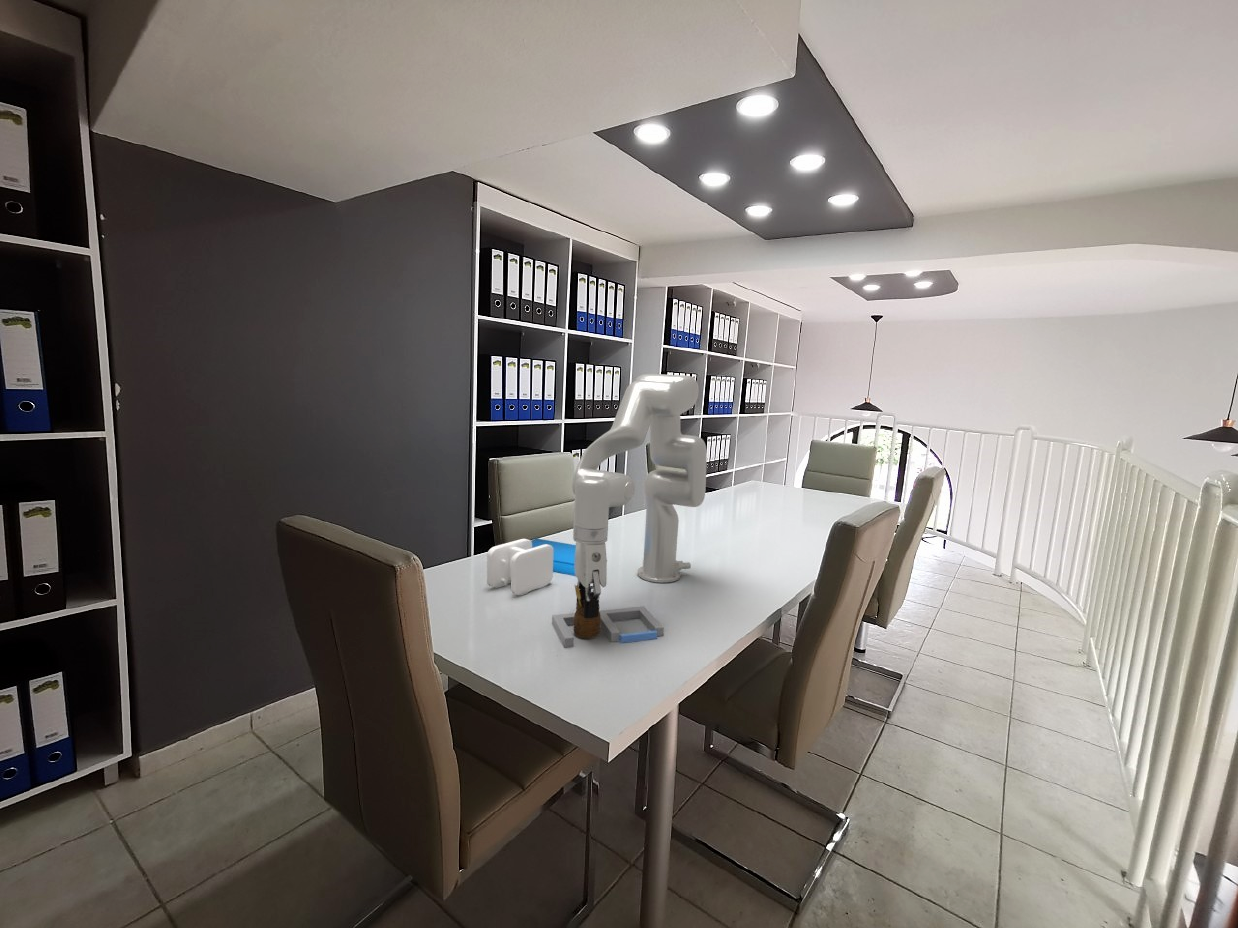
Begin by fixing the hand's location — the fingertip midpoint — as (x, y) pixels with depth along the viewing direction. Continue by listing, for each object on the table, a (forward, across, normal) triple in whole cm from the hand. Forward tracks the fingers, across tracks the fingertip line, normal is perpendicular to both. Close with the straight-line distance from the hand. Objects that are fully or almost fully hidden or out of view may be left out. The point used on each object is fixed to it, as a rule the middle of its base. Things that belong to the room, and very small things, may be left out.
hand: (587, 610), depth 124 cm
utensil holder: (+6, 0, 0) cm, 6 cm away
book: (+6, +49, -5) cm, 49 cm away
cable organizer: (+6, +31, +10) cm, 33 cm away
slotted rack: (+5, +1, -5) cm, 8 cm away
